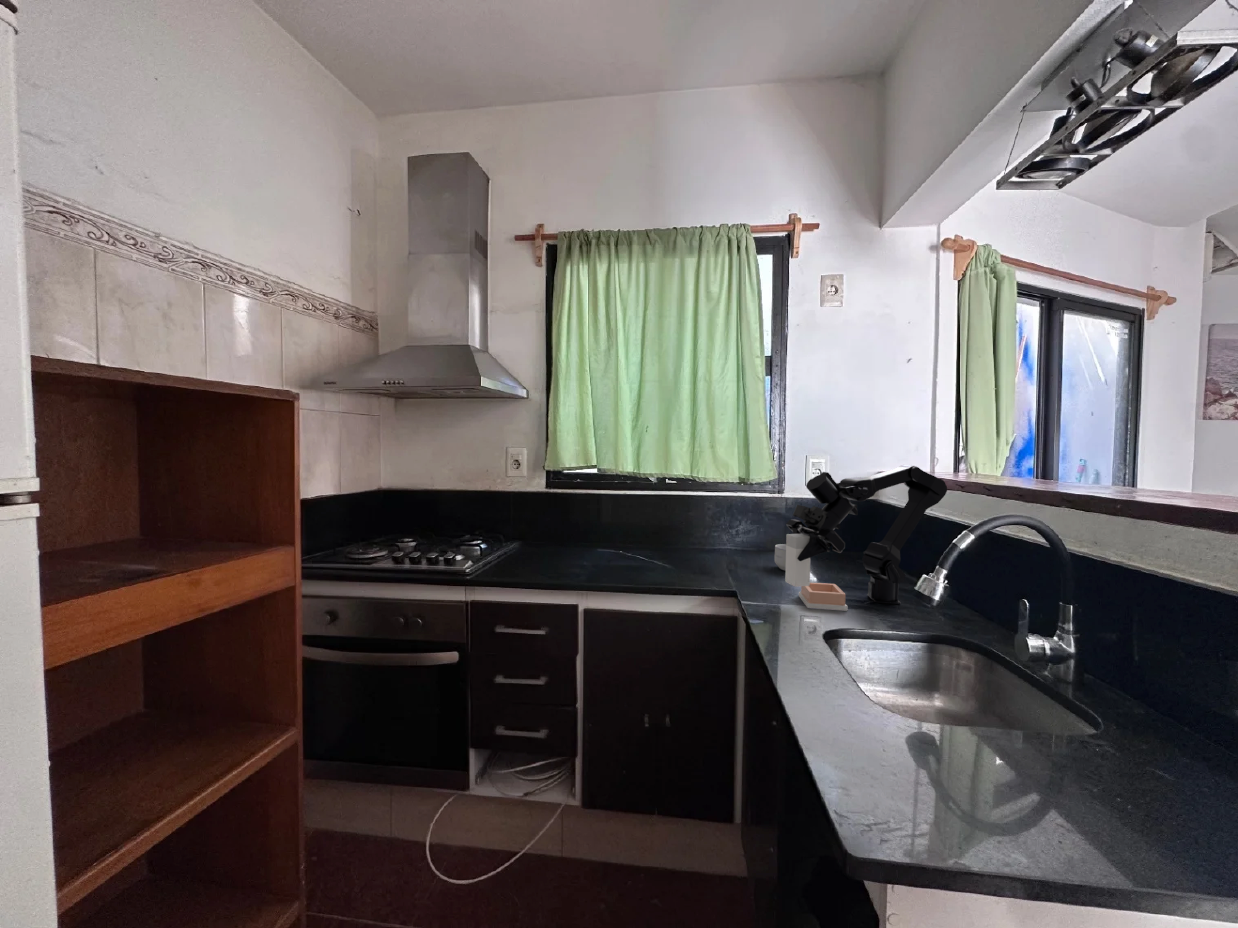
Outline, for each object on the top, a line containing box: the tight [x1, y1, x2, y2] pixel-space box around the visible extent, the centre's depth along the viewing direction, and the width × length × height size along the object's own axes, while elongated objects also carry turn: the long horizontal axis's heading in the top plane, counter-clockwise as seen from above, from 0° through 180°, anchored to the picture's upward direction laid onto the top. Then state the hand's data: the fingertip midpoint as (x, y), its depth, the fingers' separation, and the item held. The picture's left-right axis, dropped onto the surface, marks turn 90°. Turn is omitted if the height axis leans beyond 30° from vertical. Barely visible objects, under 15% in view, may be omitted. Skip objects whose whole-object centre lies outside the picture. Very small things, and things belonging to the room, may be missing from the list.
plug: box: [784, 533, 811, 588], centre depth 124 cm, size 4×4×13 cm
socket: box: [798, 581, 849, 612], centre depth 127 cm, size 10×10×4 cm
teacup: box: [774, 543, 786, 572], centre depth 159 cm, size 14×11×8 cm
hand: (793, 557), depth 123 cm, fingers closed on plug, 4 cm apart
